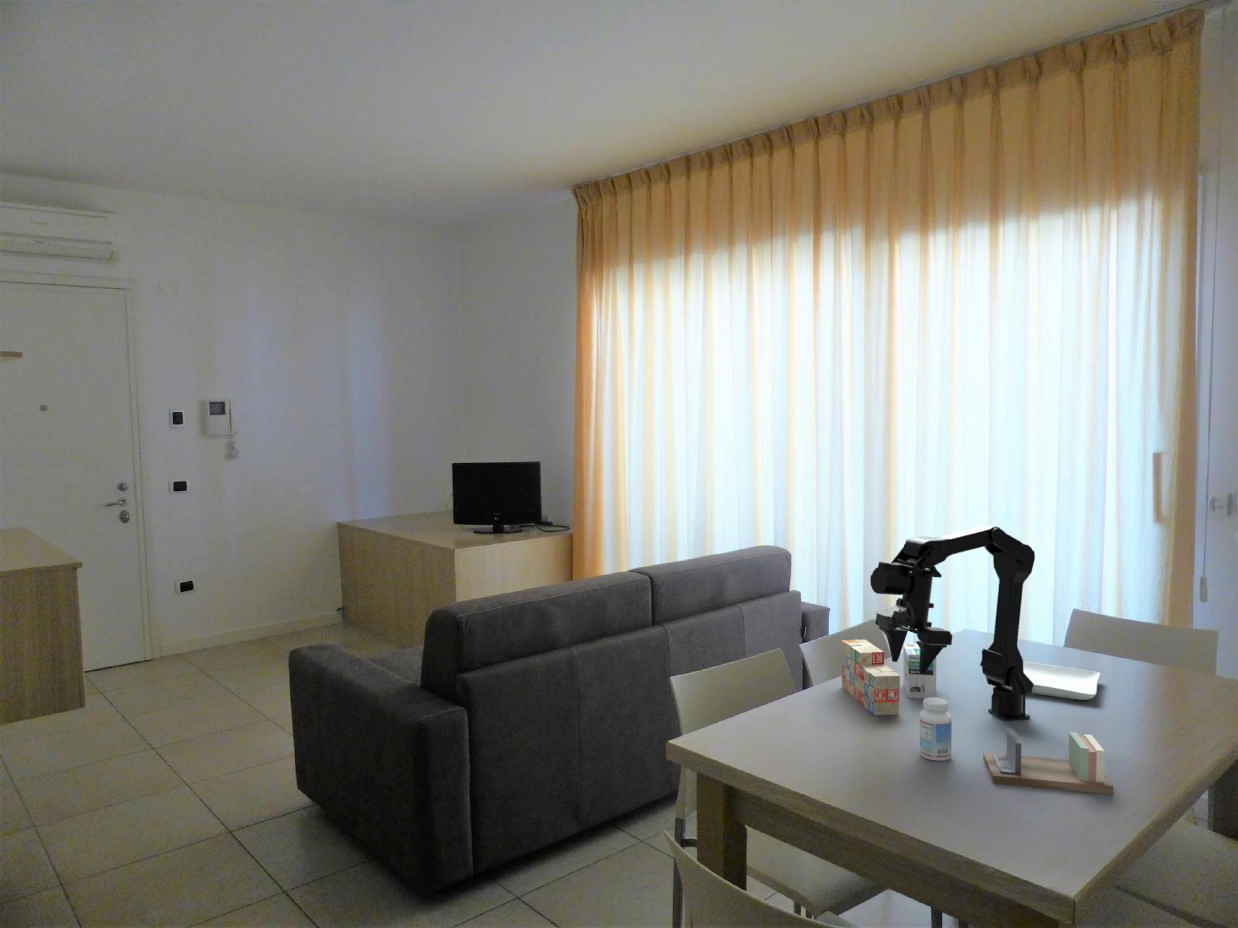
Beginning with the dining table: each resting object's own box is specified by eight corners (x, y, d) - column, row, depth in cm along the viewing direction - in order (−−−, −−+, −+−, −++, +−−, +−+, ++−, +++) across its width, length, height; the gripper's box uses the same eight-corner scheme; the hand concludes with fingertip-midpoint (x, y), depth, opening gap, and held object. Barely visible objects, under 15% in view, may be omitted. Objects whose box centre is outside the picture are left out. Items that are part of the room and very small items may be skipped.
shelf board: (983, 760, 167) (983, 752, 167) (1094, 769, 162) (1094, 761, 162) (993, 783, 156) (993, 775, 156) (1113, 794, 151) (1113, 786, 151)
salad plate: (1100, 683, 215) (1100, 670, 215) (1095, 707, 197) (1096, 693, 197) (1010, 670, 227) (1010, 658, 226) (997, 692, 209) (998, 679, 209)
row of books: (1068, 762, 161) (1069, 732, 161) (1091, 764, 160) (1091, 733, 160) (1080, 779, 154) (1080, 747, 153) (1104, 782, 153) (1104, 749, 152)
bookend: (992, 756, 165) (993, 726, 164) (1012, 757, 164) (1012, 727, 164) (1000, 772, 157) (1001, 741, 157) (1020, 774, 156) (1021, 743, 156)
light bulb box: (936, 699, 203) (937, 655, 202) (907, 698, 204) (908, 654, 204) (929, 686, 213) (930, 644, 213) (902, 684, 215) (902, 642, 214)
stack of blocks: (900, 715, 193) (900, 662, 192) (873, 716, 192) (873, 663, 192) (864, 685, 214) (865, 638, 214) (841, 686, 214) (841, 639, 213)
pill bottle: (950, 751, 171) (951, 697, 170) (952, 763, 165) (952, 707, 165) (918, 748, 173) (919, 694, 172) (919, 759, 167) (919, 704, 167)
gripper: (859, 586, 188) (851, 655, 188) (913, 603, 171) (904, 679, 171) (900, 588, 192) (892, 656, 192) (958, 605, 174) (949, 680, 174)
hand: (908, 667), depth 182 cm, fingers open, 9 cm apart
